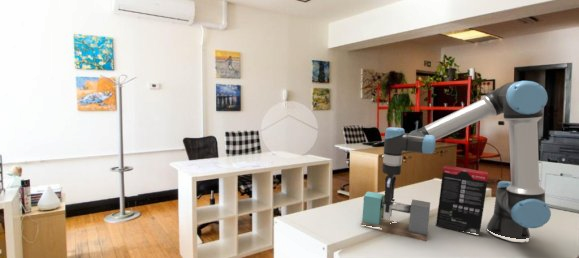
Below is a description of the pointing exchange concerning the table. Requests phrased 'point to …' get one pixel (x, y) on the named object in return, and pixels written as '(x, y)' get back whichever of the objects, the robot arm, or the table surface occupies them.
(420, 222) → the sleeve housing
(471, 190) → the graphics card box
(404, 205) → the steel tube
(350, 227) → the table surface
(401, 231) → the walnut board
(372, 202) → the teal socket block
